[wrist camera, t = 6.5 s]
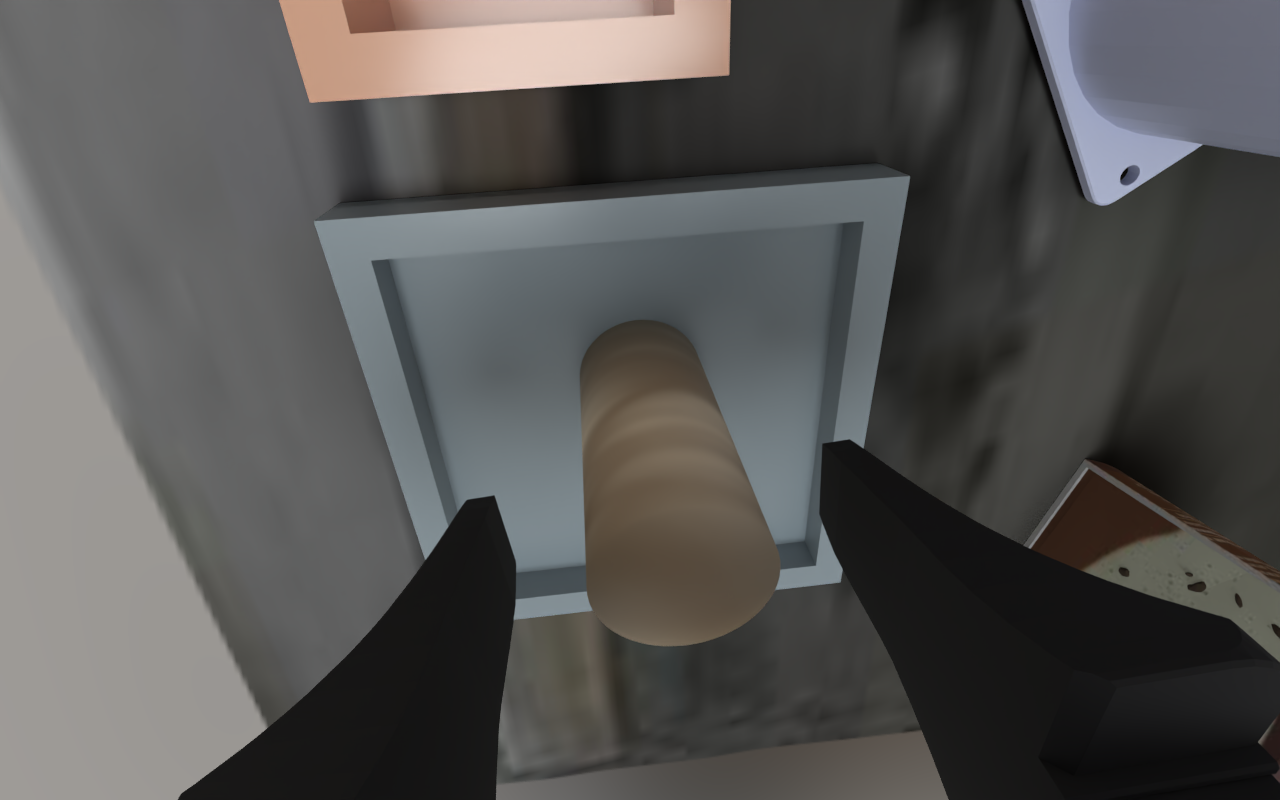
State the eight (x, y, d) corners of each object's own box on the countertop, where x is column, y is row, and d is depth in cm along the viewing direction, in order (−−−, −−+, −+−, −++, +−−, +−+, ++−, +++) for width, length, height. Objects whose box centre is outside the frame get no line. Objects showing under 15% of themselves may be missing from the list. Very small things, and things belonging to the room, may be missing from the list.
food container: (1062, 656, 29) (1270, 917, 20) (949, 648, 28) (1119, 922, 19) (1242, 446, 23) (1646, 691, 14) (1108, 425, 22) (1462, 679, 13)
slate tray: (877, 163, 16) (910, 176, 14) (822, 546, 23) (840, 582, 22) (339, 203, 15) (313, 221, 14) (456, 586, 22) (447, 627, 21)
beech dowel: (645, 294, 17) (698, 471, 10) (724, 375, 18) (817, 576, 11) (554, 376, 18) (544, 587, 11) (636, 446, 19) (673, 669, 12)
